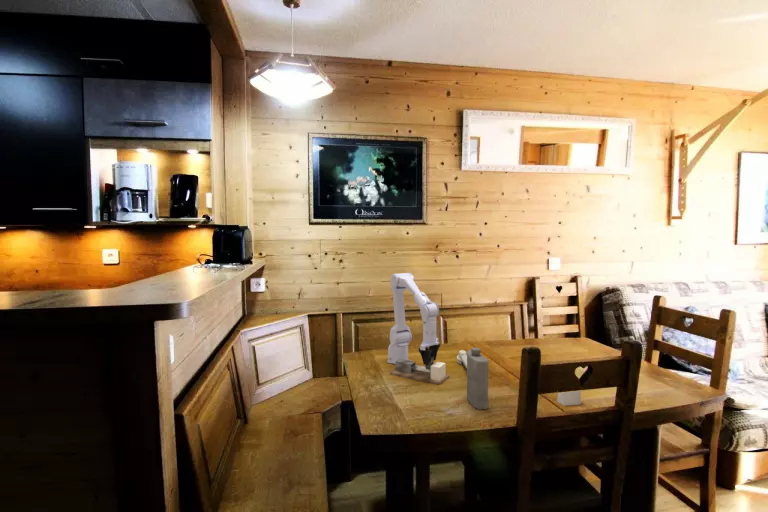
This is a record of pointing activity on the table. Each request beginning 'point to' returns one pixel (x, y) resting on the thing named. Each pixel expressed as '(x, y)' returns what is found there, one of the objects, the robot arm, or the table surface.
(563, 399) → the light grey block
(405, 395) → the table surface
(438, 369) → the socket block
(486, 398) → the flask
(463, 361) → the toothbrush head
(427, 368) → the dark grey angular piece
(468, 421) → the table surface
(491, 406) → the table surface
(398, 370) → the track base
